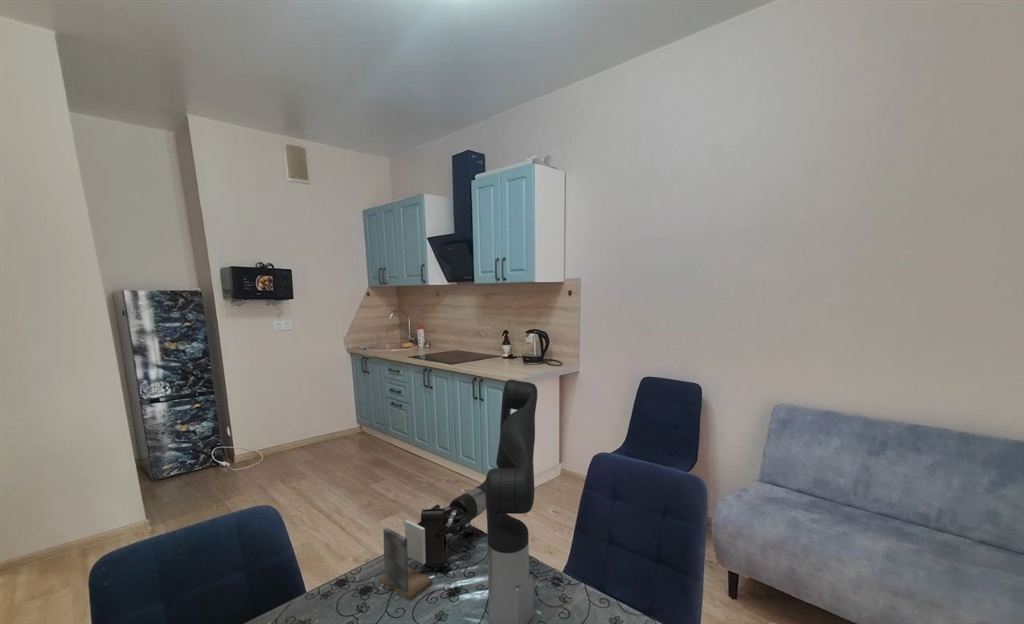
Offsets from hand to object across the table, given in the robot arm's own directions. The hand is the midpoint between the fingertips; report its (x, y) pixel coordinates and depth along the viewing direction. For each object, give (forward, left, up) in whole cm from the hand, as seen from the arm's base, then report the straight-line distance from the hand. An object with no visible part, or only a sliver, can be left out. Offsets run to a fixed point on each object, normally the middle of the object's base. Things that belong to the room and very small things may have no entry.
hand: (426, 532), depth 108 cm
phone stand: (0, -2, -7) cm, 8 cm away
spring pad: (+1, +4, -8) cm, 9 cm away
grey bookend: (0, +7, -10) cm, 12 cm away
